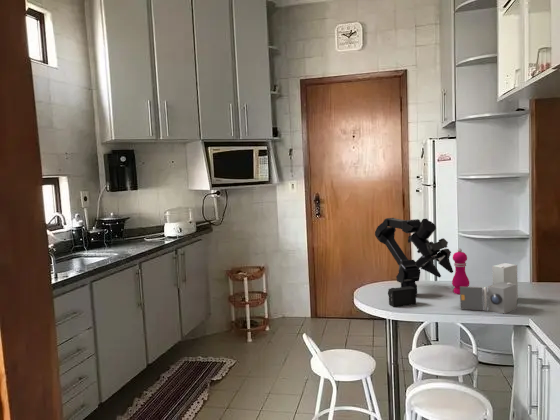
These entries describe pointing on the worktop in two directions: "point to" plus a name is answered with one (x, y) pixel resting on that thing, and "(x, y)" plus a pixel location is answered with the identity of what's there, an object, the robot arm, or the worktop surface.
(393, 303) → the digital camera
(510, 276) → the skincare box
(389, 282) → the worktop surface
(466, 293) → the side door
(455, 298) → the worktop surface
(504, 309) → the camera housing
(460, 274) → the pepper mill
